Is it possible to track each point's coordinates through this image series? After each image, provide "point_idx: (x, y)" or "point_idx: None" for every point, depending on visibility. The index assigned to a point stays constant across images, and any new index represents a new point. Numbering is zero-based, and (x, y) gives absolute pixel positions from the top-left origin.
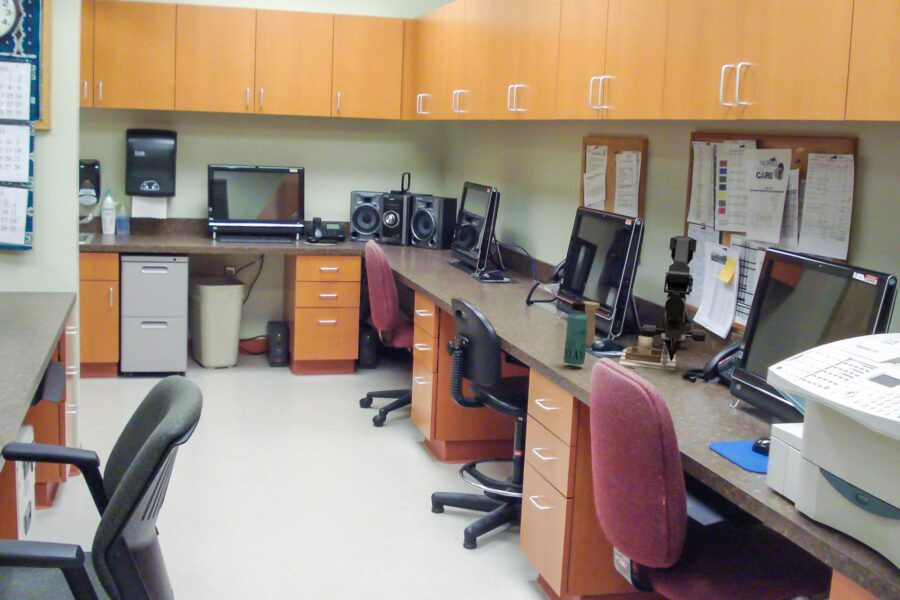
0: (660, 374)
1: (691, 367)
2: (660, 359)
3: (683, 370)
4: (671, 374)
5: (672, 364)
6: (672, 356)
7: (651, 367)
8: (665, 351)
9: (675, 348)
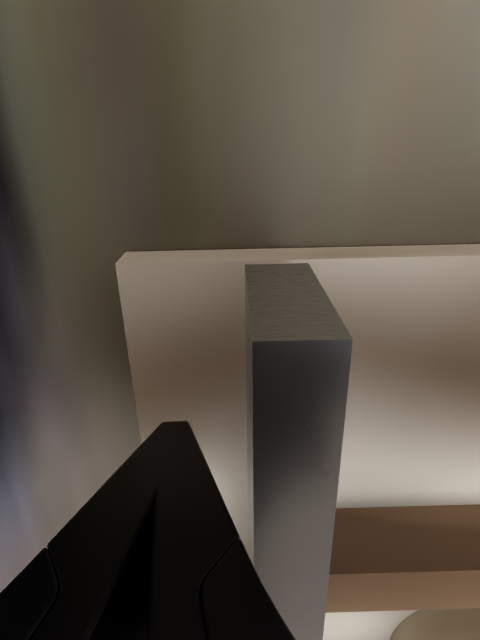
0: (303, 68)
1: (19, 561)
2: None
3: (59, 428)
4: (154, 156)
5: None
6: (147, 458)
7: (434, 256)
8: (288, 591)
9: (26, 610)
